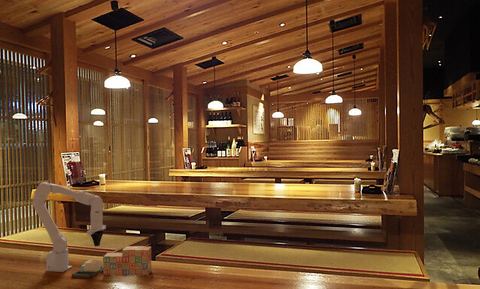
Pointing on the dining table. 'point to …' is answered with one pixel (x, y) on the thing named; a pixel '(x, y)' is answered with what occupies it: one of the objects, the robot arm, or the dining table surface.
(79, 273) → the trap pit
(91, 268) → the cream block
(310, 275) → the dining table surface
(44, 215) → the robot arm
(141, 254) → the stack of blocks
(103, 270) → the lane walls
